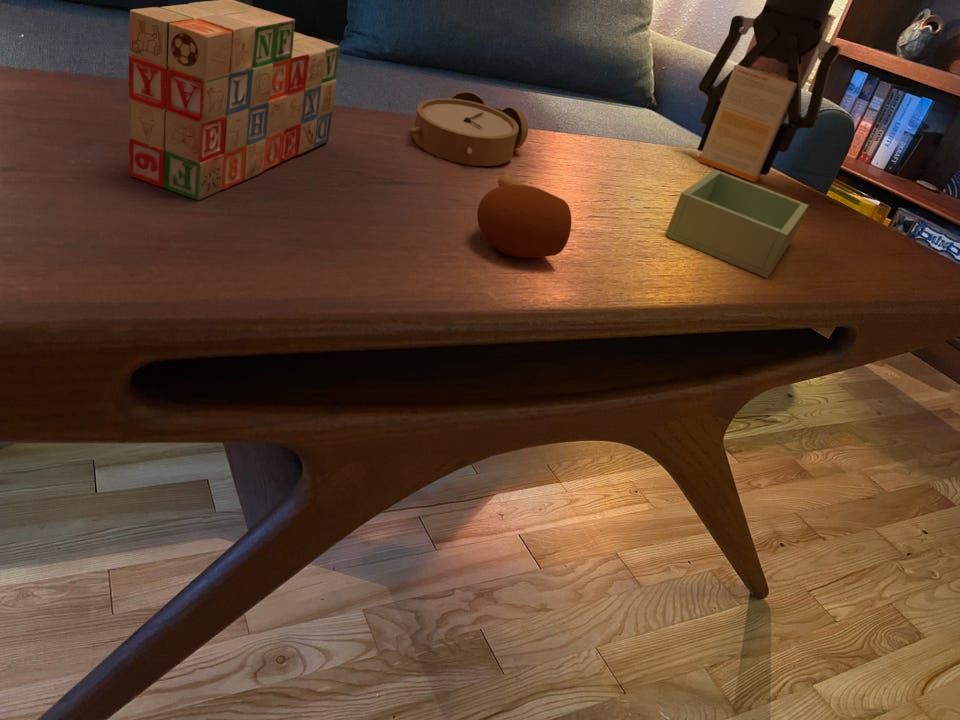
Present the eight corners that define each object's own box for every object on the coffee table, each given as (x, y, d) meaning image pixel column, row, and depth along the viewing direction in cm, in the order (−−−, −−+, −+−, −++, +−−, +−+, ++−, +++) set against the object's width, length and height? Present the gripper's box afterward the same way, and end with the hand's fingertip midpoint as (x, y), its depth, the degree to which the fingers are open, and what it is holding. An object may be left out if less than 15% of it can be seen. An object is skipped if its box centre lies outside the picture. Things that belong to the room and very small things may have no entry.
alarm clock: (394, 111, 81) (466, 73, 92) (391, 154, 84) (460, 113, 95) (488, 148, 78) (551, 105, 89) (480, 191, 81) (542, 145, 92)
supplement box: (761, 178, 107) (804, 81, 100) (753, 183, 103) (797, 84, 97) (706, 156, 110) (744, 61, 103) (696, 161, 106) (734, 63, 99)
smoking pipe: (476, 261, 62) (493, 193, 59) (454, 178, 77) (467, 120, 74) (561, 275, 63) (582, 209, 60) (523, 191, 79) (538, 135, 76)
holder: (790, 244, 85) (809, 204, 83) (766, 278, 74) (787, 234, 72) (699, 207, 88) (715, 169, 86) (664, 236, 77) (681, 192, 75)
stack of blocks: (273, 123, 78) (286, -8, 72) (329, 143, 77) (347, 11, 71) (127, 176, 60) (127, 5, 53) (198, 202, 59) (207, 32, 53)
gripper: (718, -44, 95) (653, 138, 106) (894, 6, 88) (804, 194, 100) (732, -41, 101) (669, 131, 112) (897, 6, 94) (812, 184, 106)
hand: (732, 160), depth 106 cm, fingers closed on supplement box, 8 cm apart
